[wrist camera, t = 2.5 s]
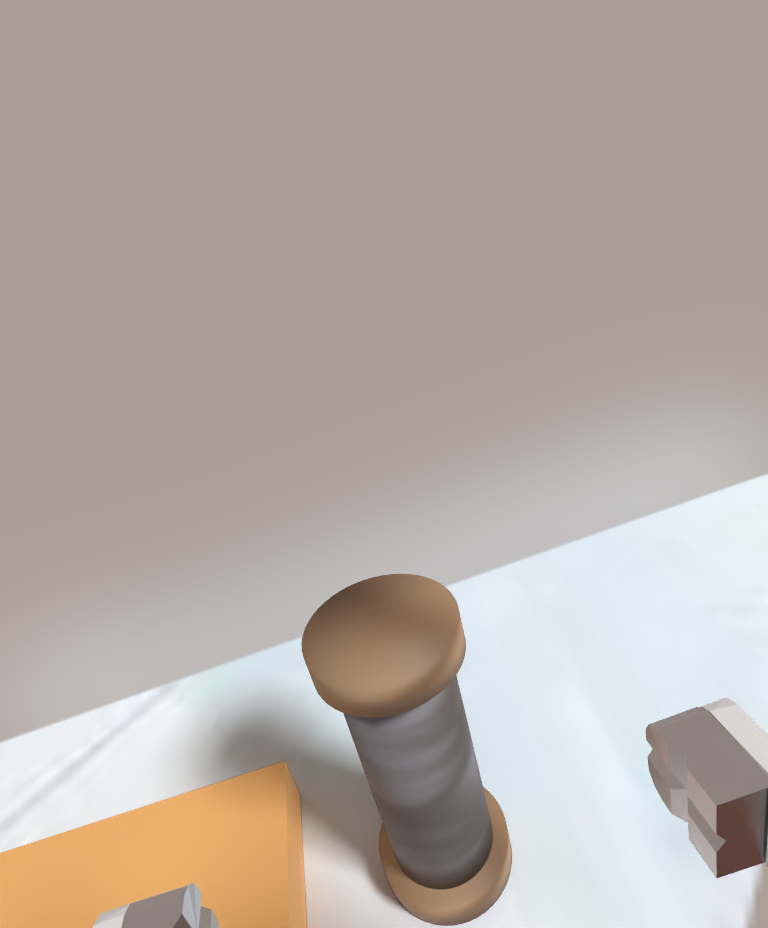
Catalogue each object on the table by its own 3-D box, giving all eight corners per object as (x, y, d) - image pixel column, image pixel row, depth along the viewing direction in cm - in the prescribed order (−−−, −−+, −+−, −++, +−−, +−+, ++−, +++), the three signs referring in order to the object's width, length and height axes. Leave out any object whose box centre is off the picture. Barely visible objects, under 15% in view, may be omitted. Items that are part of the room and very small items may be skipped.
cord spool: (467, 958, 25) (391, 714, 19) (360, 874, 29) (269, 651, 23) (534, 831, 29) (489, 596, 23) (432, 772, 33) (371, 561, 27)
